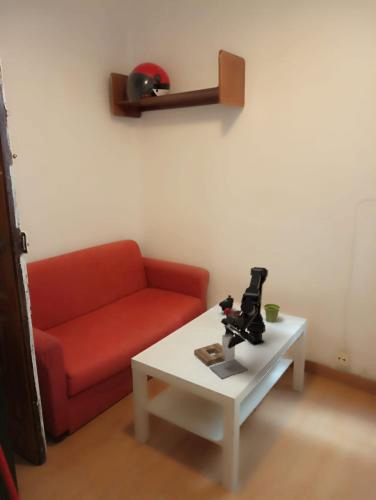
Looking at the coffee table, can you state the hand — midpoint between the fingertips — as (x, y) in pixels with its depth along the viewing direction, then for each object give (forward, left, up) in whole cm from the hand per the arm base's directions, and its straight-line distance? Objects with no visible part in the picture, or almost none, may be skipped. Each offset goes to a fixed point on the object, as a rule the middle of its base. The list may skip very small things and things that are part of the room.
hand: (225, 345), depth 163 cm
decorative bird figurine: (-33, -39, -12) cm, 53 cm away
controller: (-36, -52, -12) cm, 65 cm away
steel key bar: (-1, 0, -7) cm, 7 cm away
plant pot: (-52, -29, -12) cm, 61 cm away
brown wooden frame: (-1, -13, -12) cm, 18 cm away
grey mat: (-1, 0, -12) cm, 12 cm away
